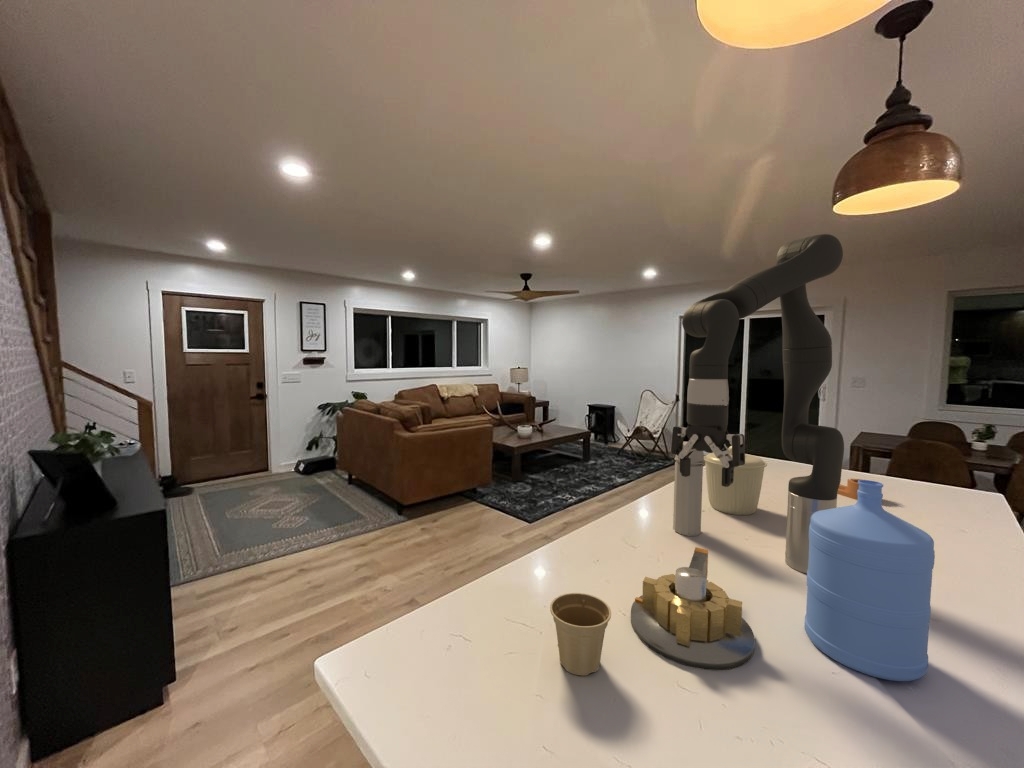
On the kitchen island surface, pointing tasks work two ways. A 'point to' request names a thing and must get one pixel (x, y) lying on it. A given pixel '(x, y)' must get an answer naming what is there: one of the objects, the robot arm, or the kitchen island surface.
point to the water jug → (870, 588)
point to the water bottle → (688, 496)
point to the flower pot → (580, 630)
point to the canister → (735, 485)
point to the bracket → (849, 489)
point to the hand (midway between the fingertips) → (705, 480)
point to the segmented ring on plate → (692, 607)
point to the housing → (699, 653)
